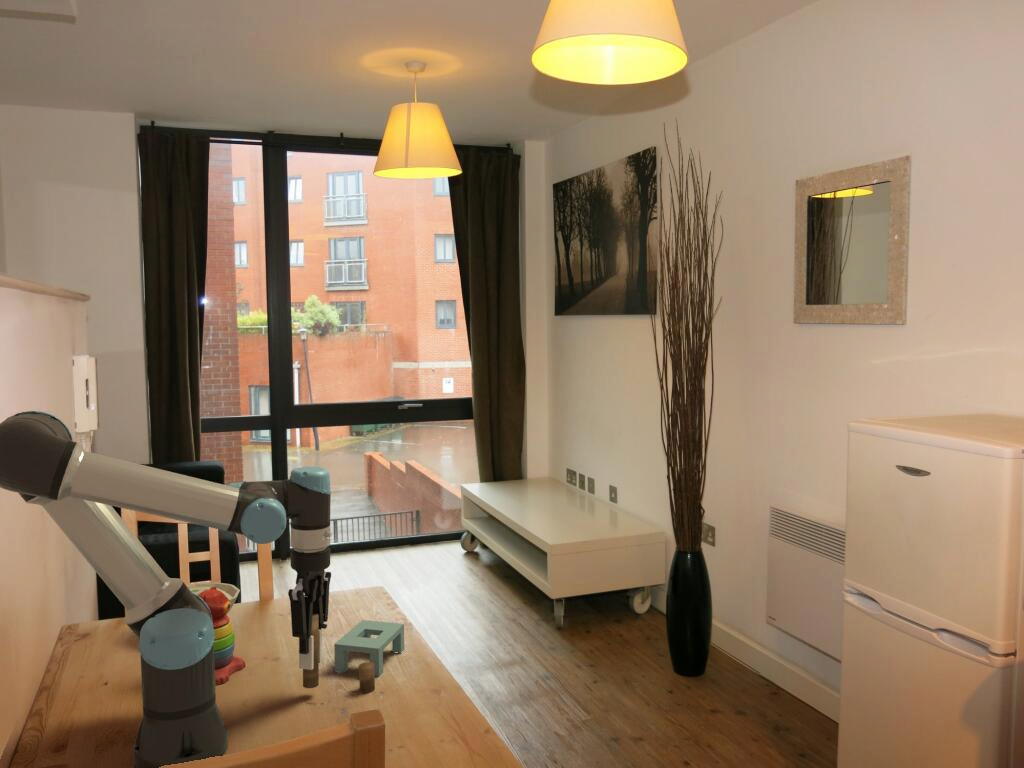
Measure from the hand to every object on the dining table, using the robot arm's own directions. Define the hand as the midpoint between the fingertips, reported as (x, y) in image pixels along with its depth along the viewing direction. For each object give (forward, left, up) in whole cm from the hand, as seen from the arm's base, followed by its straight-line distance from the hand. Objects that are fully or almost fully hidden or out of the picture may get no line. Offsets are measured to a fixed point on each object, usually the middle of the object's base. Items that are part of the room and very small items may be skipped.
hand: (310, 664), depth 165 cm
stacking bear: (+5, +25, -7) cm, 26 cm away
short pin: (+5, -10, -6) cm, 13 cm away
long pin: (0, 0, -4) cm, 4 cm away
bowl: (+24, +42, -7) cm, 48 cm away
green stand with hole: (+18, -5, -6) cm, 20 cm away
